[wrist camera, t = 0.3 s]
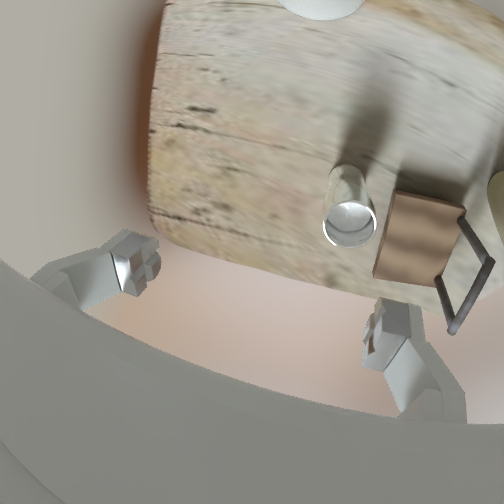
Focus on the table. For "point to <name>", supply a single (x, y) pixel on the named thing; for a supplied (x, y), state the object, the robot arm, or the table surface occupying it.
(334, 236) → the beer glass
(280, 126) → the table surface
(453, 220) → the dolly
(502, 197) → the plant pot
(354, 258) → the table surface
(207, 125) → the table surface
